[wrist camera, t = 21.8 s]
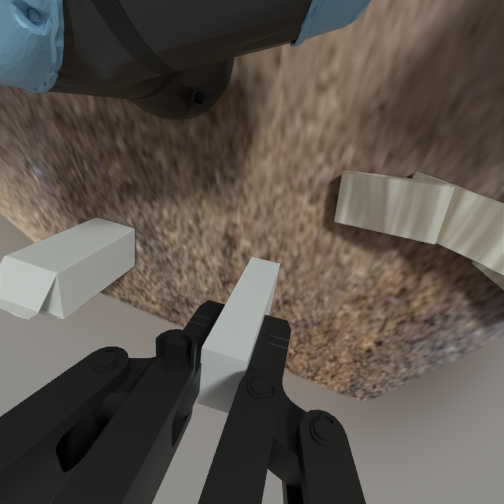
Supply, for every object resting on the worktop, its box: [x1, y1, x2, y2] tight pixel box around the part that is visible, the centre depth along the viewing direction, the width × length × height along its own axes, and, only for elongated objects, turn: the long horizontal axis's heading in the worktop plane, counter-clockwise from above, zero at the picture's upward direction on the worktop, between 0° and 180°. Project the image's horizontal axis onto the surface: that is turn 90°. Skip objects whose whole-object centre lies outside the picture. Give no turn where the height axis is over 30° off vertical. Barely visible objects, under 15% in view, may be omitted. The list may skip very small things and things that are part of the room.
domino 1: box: [334, 171, 455, 244], centre depth 32 cm, size 2×6×11 cm
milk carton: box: [0, 217, 135, 320], centre depth 39 cm, size 7×7×19 cm
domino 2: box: [412, 172, 504, 268], centre depth 31 cm, size 2×6×11 cm
